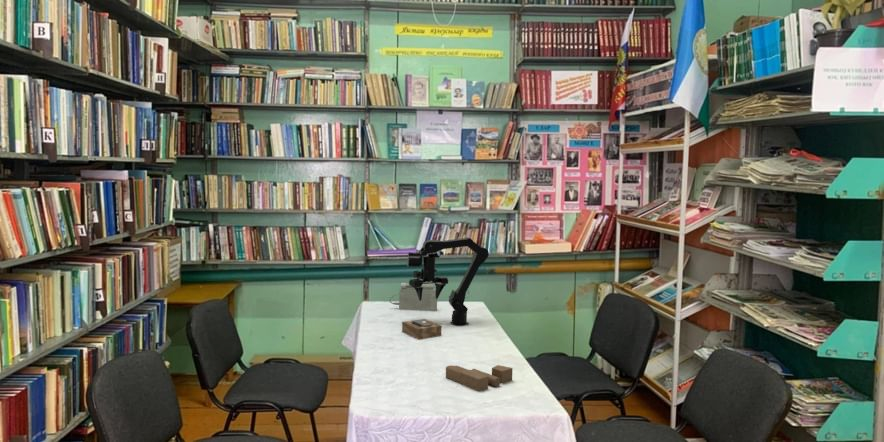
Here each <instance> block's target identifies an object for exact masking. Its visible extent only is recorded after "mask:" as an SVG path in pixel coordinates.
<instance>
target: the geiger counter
mask: <svg viewBox="0 0 884 442" xmlns="http://www.w3.org/2000/svg"><path fill="white" fill-rule="evenodd" d="M421 287H423V290H422V299H421V301H420V300H419V298H418V295H417V292H416V290H415V288H414V287H412V286H410V285H409V283H407V282H401V284H400V288H399V293H397V294H393V295H392V296H391V297H390V298H389V303H390V304H392V305H395V306H398V309H399V311H418V310H419V311H420V312H422V311H424V312H437V311H438V299H436V286H435V284H422V286H421ZM395 296H398V302H397V301H396V302H392V301H391V299H393V297H395Z"/></svg>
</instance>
